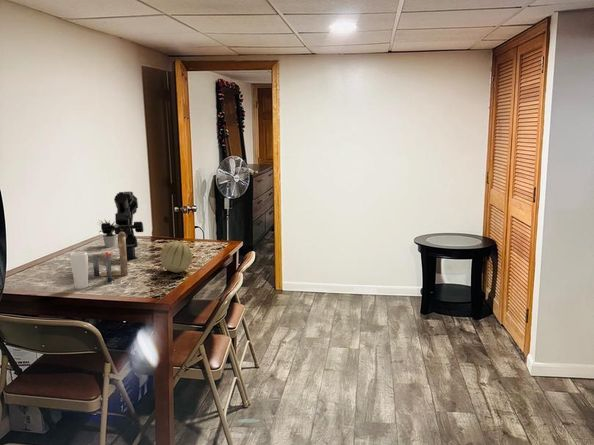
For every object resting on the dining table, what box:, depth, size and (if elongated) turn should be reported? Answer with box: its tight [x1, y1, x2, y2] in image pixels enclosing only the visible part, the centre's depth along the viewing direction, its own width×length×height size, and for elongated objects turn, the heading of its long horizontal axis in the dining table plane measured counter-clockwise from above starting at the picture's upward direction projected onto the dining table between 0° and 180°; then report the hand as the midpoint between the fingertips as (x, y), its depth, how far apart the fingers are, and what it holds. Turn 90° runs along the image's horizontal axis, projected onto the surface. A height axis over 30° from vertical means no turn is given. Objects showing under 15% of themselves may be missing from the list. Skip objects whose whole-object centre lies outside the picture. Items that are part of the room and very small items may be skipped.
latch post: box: [104, 251, 115, 285], centre depth 228 cm, size 4×4×14 cm
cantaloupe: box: [159, 239, 193, 273], centre depth 244 cm, size 15×15×15 cm
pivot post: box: [91, 254, 103, 279], centre depth 237 cm, size 4×4×10 cm
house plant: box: [97, 219, 117, 248], centre depth 292 cm, size 14×14×16 cm
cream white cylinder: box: [69, 251, 89, 290], centre depth 221 cm, size 7×7×15 cm
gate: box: [100, 232, 129, 277], centre depth 237 cm, size 12×3×20 cm, turn 102°
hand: (122, 242), depth 245 cm, fingers closed
